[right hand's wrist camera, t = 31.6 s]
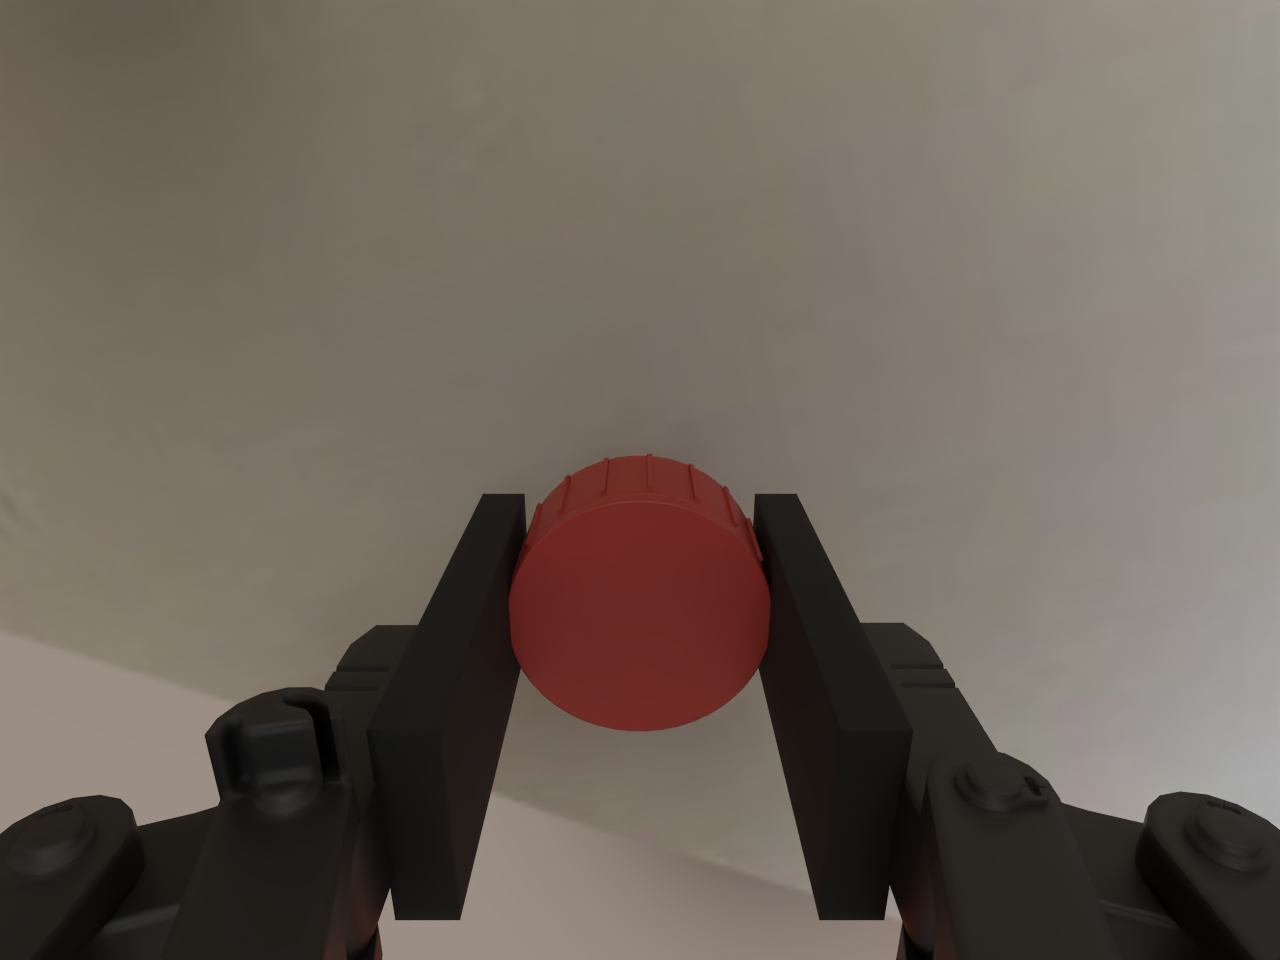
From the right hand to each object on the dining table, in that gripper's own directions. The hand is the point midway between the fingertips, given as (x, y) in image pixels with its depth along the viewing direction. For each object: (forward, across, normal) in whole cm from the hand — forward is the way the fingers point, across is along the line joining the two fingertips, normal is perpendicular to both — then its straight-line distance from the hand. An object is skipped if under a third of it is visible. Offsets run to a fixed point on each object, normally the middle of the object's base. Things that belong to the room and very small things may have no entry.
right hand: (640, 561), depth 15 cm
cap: (-2, 0, 0) cm, 2 cm away
